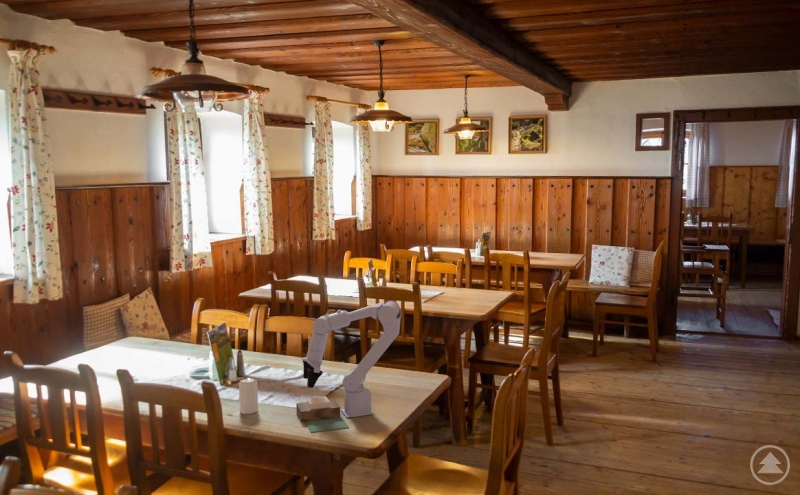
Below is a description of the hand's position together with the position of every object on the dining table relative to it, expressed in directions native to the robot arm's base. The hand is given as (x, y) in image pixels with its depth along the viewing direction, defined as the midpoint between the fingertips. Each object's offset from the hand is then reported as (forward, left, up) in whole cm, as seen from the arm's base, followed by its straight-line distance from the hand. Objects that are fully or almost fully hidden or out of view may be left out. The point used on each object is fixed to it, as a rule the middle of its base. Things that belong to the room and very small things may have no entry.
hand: (308, 382), depth 244 cm
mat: (-3, +17, -10) cm, 20 cm away
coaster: (-2, +8, -6) cm, 10 cm away
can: (+21, -5, -10) cm, 24 cm away
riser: (-2, +7, -10) cm, 13 cm away
